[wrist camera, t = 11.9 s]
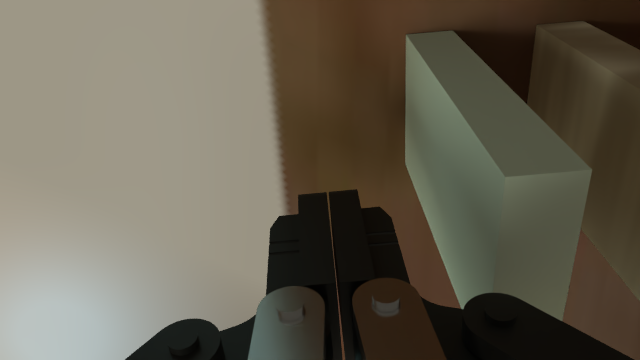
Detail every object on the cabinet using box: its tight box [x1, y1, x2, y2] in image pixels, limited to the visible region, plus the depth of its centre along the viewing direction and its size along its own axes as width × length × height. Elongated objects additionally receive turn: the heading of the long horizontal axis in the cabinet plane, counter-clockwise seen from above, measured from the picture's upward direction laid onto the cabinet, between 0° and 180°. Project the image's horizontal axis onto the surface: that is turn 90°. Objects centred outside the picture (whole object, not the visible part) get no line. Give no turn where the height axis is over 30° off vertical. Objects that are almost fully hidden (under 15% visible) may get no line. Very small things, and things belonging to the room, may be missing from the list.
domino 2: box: [527, 21, 640, 301], centre depth 16 cm, size 2×5×10 cm, turn 4°
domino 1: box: [405, 31, 592, 321], centre depth 16 cm, size 2×5×10 cm, turn 4°
